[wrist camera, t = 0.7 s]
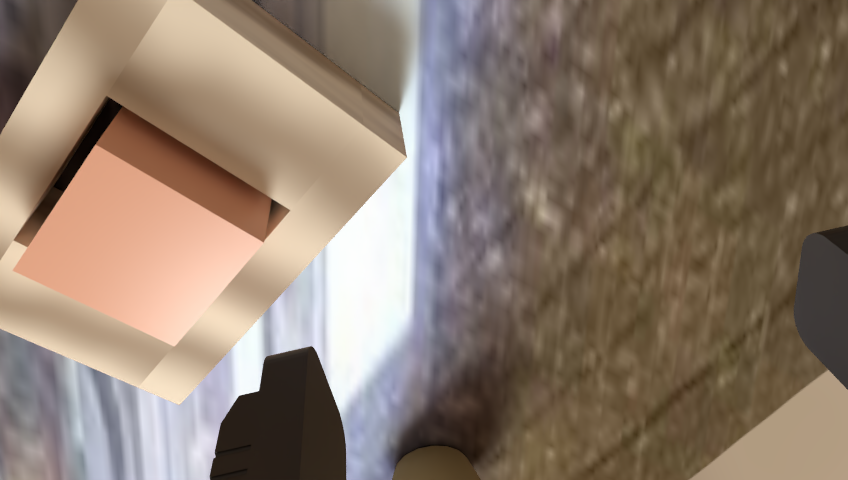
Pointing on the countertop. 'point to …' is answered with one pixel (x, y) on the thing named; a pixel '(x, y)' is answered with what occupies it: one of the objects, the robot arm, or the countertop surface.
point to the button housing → (204, 133)
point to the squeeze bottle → (435, 465)
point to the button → (147, 231)
